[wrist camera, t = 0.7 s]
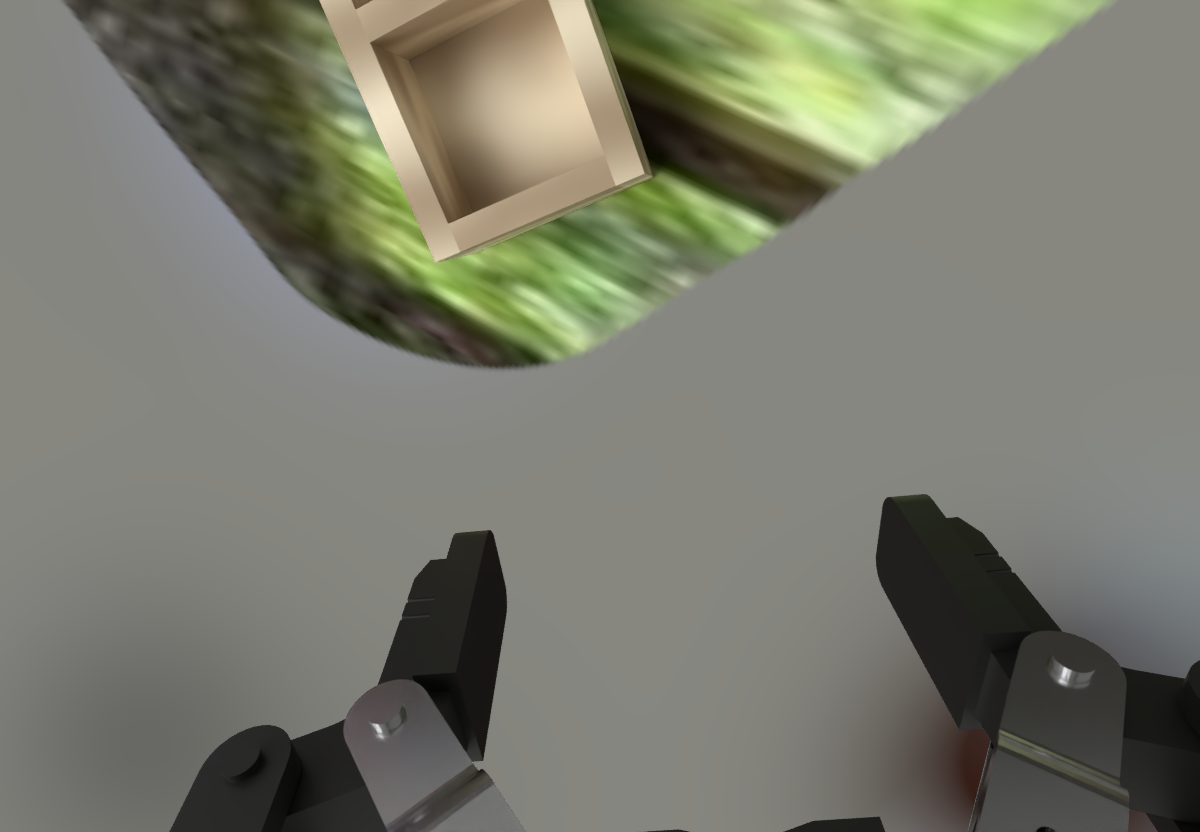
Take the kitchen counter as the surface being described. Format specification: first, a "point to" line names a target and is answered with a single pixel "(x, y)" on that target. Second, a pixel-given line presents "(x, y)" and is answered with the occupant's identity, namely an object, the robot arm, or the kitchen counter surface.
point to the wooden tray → (491, 111)
